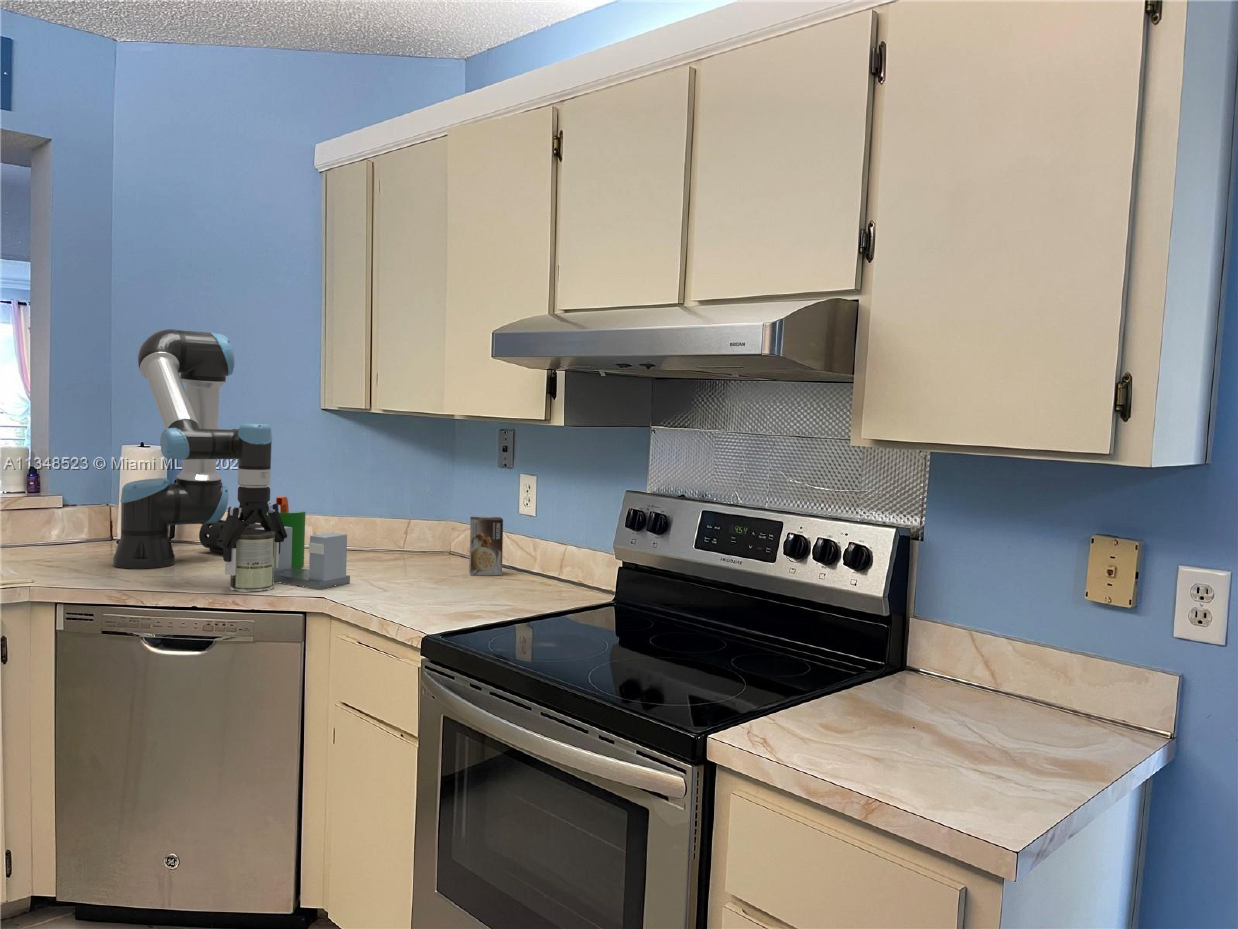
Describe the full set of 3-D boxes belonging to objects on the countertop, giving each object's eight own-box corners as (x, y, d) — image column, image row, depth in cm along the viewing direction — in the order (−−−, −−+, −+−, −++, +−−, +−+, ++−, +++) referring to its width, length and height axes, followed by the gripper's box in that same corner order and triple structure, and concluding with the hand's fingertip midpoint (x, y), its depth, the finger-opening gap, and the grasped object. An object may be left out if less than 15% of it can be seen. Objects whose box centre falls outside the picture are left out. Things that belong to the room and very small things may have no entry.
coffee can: (220, 588, 231) (221, 531, 230) (254, 582, 240) (255, 528, 239) (249, 594, 226) (250, 536, 225) (282, 587, 235) (284, 532, 234)
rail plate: (249, 578, 245) (249, 570, 245) (281, 572, 255) (281, 565, 254) (319, 589, 234) (319, 582, 234) (349, 583, 244) (350, 575, 244)
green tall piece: (307, 564, 268) (309, 495, 267) (297, 570, 259) (298, 498, 258) (272, 563, 268) (273, 493, 267) (260, 568, 259) (262, 496, 258)
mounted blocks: (252, 570, 245) (253, 528, 245) (277, 566, 253) (278, 525, 252) (322, 581, 235) (323, 538, 234) (346, 576, 243) (347, 534, 242)
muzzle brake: (222, 550, 287) (222, 516, 287) (294, 559, 277) (295, 524, 276) (197, 553, 278) (198, 519, 278) (271, 563, 268) (272, 527, 267)
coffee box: (500, 571, 271) (502, 516, 270) (502, 575, 265) (504, 519, 264) (468, 571, 269) (470, 516, 268) (469, 575, 263) (471, 519, 262)
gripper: (224, 490, 218) (222, 580, 220) (302, 484, 241) (300, 566, 242) (201, 487, 222) (199, 576, 223) (281, 482, 244) (279, 562, 245)
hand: (252, 571), depth 232 cm, fingers open, 13 cm apart
